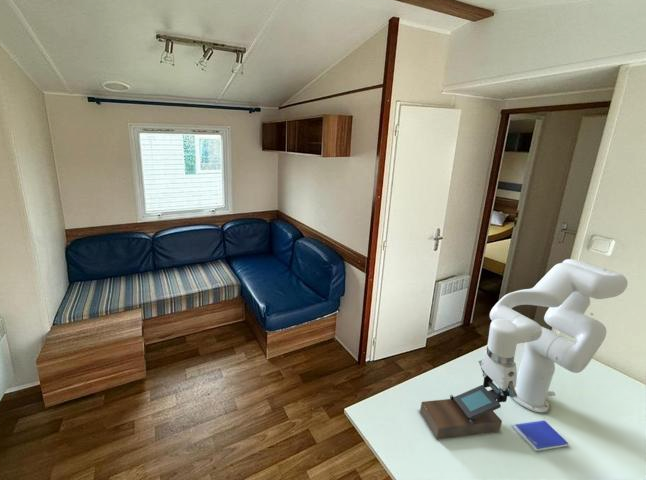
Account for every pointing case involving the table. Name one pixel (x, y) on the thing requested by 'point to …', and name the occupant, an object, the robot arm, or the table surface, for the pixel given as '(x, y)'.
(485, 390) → the device
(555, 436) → the hard drive
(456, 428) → the stand
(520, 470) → the table surface
